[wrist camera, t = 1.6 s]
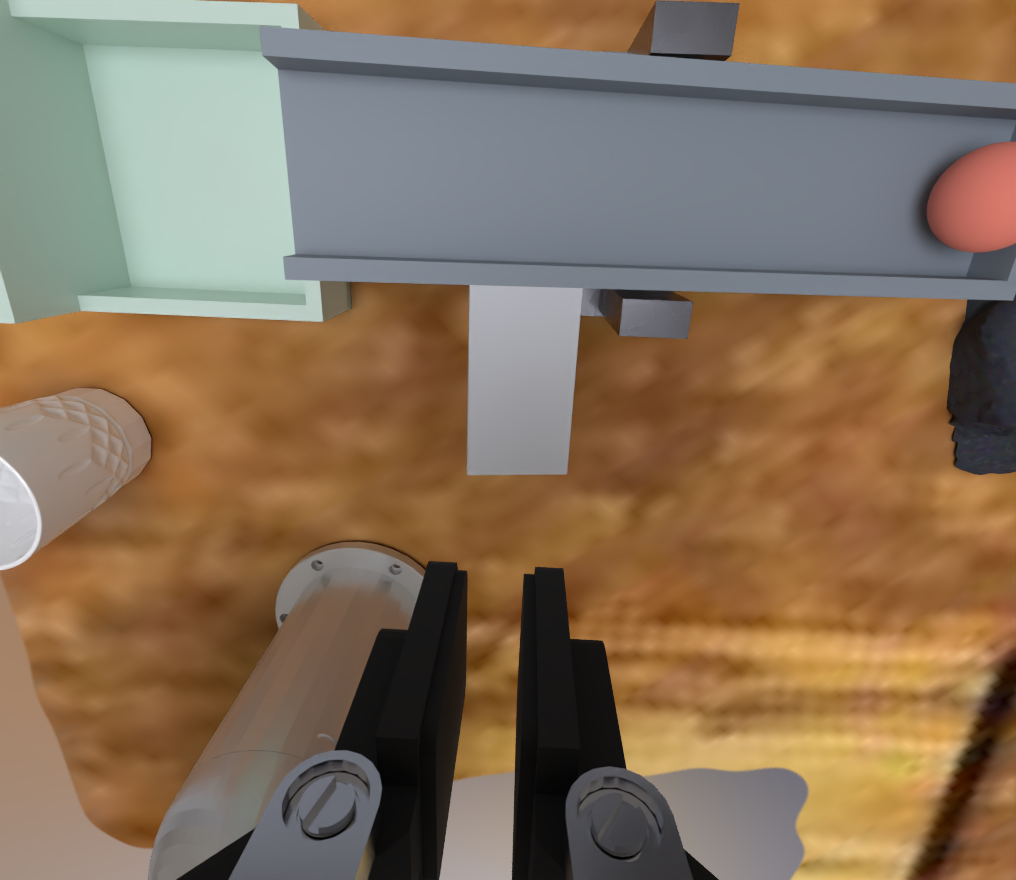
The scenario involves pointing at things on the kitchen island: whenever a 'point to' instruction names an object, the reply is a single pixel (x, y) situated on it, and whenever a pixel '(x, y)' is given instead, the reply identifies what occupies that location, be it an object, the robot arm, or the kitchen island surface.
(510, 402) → the lever
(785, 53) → the kitchen island surface
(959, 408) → the folded navy shirt
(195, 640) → the kitchen island surface
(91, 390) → the white cup
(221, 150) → the bin
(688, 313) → the lever stand
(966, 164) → the ball
